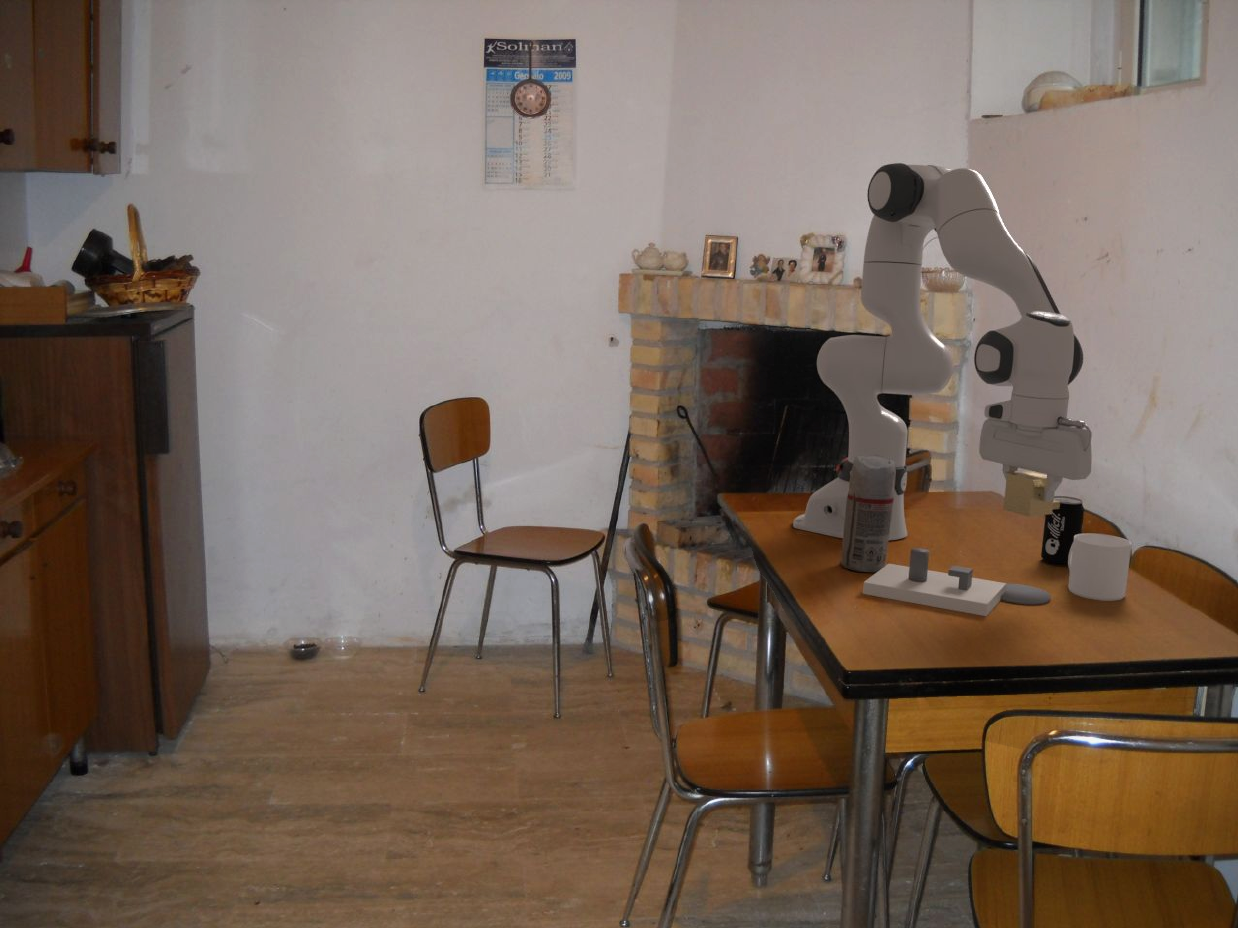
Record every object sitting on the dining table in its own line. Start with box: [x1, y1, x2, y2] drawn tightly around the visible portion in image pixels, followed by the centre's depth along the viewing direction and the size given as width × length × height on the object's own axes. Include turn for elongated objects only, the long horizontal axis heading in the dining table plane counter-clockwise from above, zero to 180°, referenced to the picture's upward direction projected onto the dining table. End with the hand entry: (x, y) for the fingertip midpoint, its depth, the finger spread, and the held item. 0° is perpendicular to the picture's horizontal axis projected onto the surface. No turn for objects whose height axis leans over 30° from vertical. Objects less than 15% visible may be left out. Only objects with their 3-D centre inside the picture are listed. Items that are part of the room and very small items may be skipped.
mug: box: [1067, 532, 1133, 602], centre depth 204 cm, size 12×9×9 cm
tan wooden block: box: [1003, 470, 1060, 518], centre depth 198 cm, size 9×5×6 cm, turn 120°
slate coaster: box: [1000, 582, 1052, 606], centre depth 200 cm, size 10×10×1 cm
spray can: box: [839, 454, 896, 573], centre depth 212 cm, size 8×8×20 cm
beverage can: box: [1040, 495, 1085, 567], centre depth 222 cm, size 7×7×12 cm
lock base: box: [862, 547, 1007, 617], centre depth 199 cm, size 20×14×7 cm
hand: (1029, 496), depth 197 cm, fingers closed on tan wooden block, 5 cm apart
